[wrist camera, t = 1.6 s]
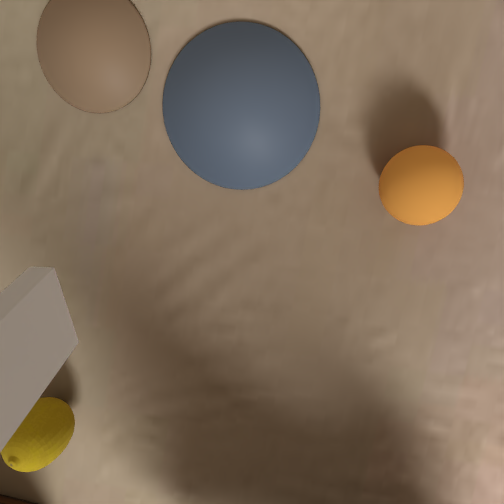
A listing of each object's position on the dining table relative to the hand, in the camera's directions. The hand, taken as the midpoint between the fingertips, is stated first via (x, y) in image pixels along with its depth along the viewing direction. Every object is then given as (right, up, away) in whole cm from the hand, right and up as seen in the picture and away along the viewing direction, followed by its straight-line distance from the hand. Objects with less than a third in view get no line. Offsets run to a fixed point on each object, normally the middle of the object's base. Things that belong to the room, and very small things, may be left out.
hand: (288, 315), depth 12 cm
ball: (+11, +6, +18) cm, 22 cm away
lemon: (-20, -14, +32) cm, 40 cm away
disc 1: (-13, +17, +21) cm, 30 cm away
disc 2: (-2, +12, +21) cm, 25 cm away
